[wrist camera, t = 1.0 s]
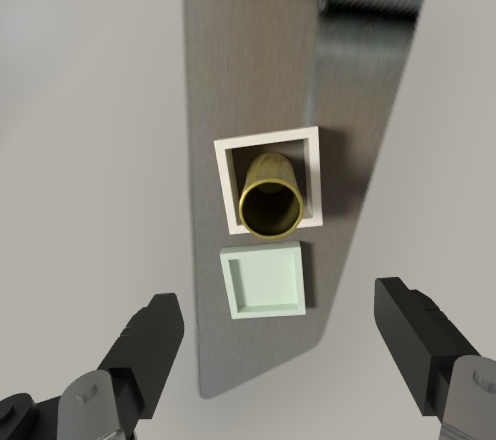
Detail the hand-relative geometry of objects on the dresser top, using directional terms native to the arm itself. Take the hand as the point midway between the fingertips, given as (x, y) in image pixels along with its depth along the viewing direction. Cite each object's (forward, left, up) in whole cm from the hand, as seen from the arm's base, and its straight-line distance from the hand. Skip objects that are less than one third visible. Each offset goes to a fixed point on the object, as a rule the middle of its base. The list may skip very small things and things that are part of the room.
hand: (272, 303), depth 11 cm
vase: (0, 0, -26) cm, 26 cm away
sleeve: (0, 0, -26) cm, 26 cm away
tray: (+15, -3, -26) cm, 30 cm away
